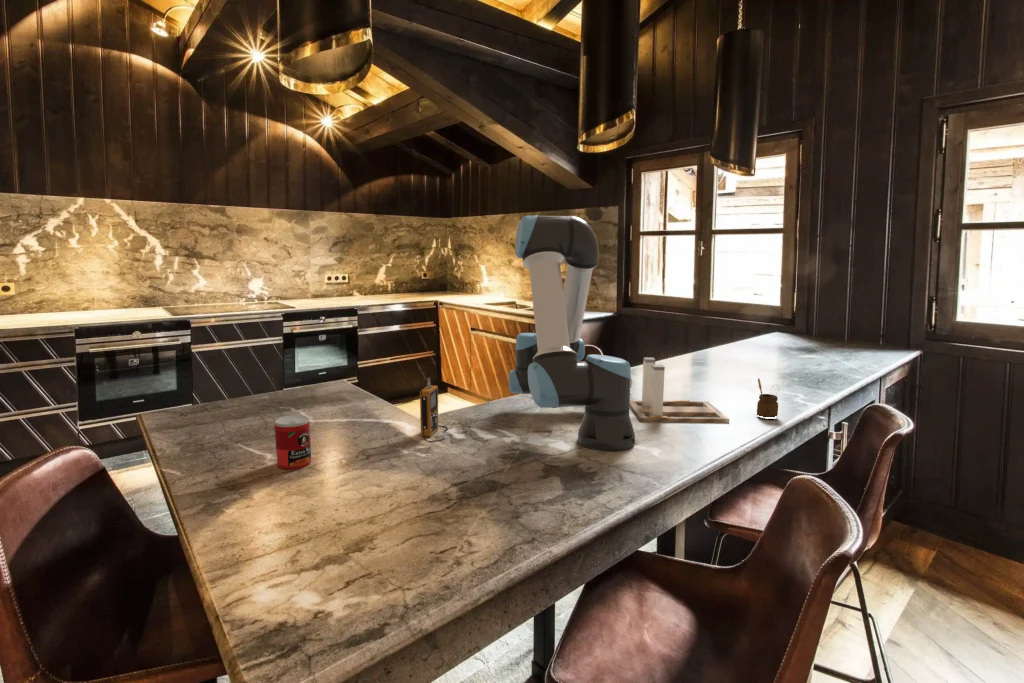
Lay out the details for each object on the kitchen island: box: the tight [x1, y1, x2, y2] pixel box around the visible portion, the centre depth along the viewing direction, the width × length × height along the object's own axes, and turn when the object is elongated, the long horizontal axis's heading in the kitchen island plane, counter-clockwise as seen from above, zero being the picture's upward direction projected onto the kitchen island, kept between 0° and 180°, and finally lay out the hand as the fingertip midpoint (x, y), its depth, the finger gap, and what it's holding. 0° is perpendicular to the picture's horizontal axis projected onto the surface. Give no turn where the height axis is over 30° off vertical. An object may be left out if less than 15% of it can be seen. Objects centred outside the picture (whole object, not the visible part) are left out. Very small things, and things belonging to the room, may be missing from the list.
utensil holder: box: [756, 378, 780, 417], centre depth 177 cm, size 6×6×12 cm
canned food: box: [274, 414, 312, 471], centre depth 136 cm, size 8×8×11 cm
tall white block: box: [641, 356, 656, 406], centre depth 183 cm, size 3×4×16 cm
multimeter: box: [419, 361, 457, 443], centre depth 159 cm, size 15×10×20 cm
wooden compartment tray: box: [629, 399, 730, 425], centre depth 178 cm, size 26×20×3 cm
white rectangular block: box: [649, 364, 666, 417], centre depth 171 cm, size 3×4×16 cm
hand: (631, 383), depth 183 cm, fingers closed
